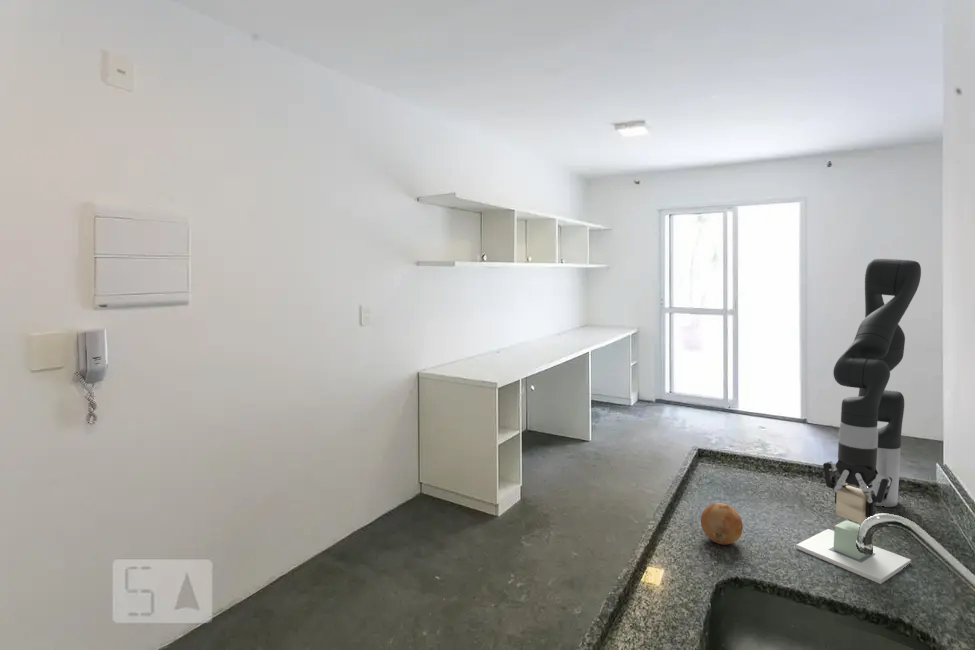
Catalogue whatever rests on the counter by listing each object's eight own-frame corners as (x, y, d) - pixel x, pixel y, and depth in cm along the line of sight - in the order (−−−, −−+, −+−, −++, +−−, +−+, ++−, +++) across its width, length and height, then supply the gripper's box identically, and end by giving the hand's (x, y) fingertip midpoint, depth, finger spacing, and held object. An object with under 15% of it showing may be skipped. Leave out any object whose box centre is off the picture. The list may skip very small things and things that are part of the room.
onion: (739, 535, 137) (740, 498, 136) (744, 554, 128) (745, 514, 127) (699, 530, 140) (700, 493, 140) (701, 548, 131) (702, 509, 130)
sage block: (845, 543, 130) (846, 519, 130) (870, 553, 126) (871, 528, 125) (833, 549, 128) (834, 525, 127) (858, 559, 123) (860, 535, 122)
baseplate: (827, 532, 138) (828, 528, 138) (910, 563, 123) (910, 559, 123) (796, 548, 130) (796, 544, 130) (880, 583, 115) (880, 579, 115)
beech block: (847, 509, 129) (848, 485, 129) (872, 517, 125) (874, 493, 124) (835, 514, 127) (836, 490, 126) (861, 523, 122) (862, 498, 121)
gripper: (901, 447, 120) (897, 519, 121) (833, 432, 132) (830, 497, 134) (886, 453, 116) (881, 527, 118) (817, 437, 128) (814, 504, 130)
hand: (854, 511), depth 126 cm, fingers closed on beech block, 5 cm apart
